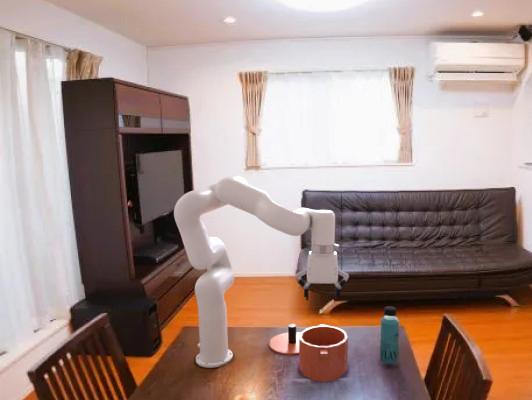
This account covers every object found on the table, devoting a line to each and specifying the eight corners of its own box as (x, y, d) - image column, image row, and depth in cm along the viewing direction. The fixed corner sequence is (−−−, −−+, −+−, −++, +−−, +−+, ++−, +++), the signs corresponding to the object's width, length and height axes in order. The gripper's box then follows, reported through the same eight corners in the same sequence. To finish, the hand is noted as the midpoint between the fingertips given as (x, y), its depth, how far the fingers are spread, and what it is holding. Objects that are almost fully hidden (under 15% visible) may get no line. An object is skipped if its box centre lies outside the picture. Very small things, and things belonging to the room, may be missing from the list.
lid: (266, 356, 152) (266, 336, 151) (271, 334, 169) (271, 316, 168) (315, 356, 152) (315, 335, 151) (315, 334, 169) (315, 315, 168)
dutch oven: (298, 386, 133) (298, 351, 131) (300, 353, 154) (300, 322, 153) (349, 386, 133) (350, 351, 132) (344, 352, 154) (345, 322, 153)
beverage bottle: (377, 366, 145) (378, 310, 142) (382, 357, 151) (383, 303, 148) (396, 370, 143) (397, 312, 140) (400, 360, 149) (401, 305, 146)
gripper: (348, 245, 142) (347, 295, 144) (296, 245, 142) (296, 294, 144) (350, 251, 135) (349, 303, 137) (295, 251, 134) (295, 303, 137)
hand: (321, 299), depth 140 cm, fingers open, 9 cm apart
